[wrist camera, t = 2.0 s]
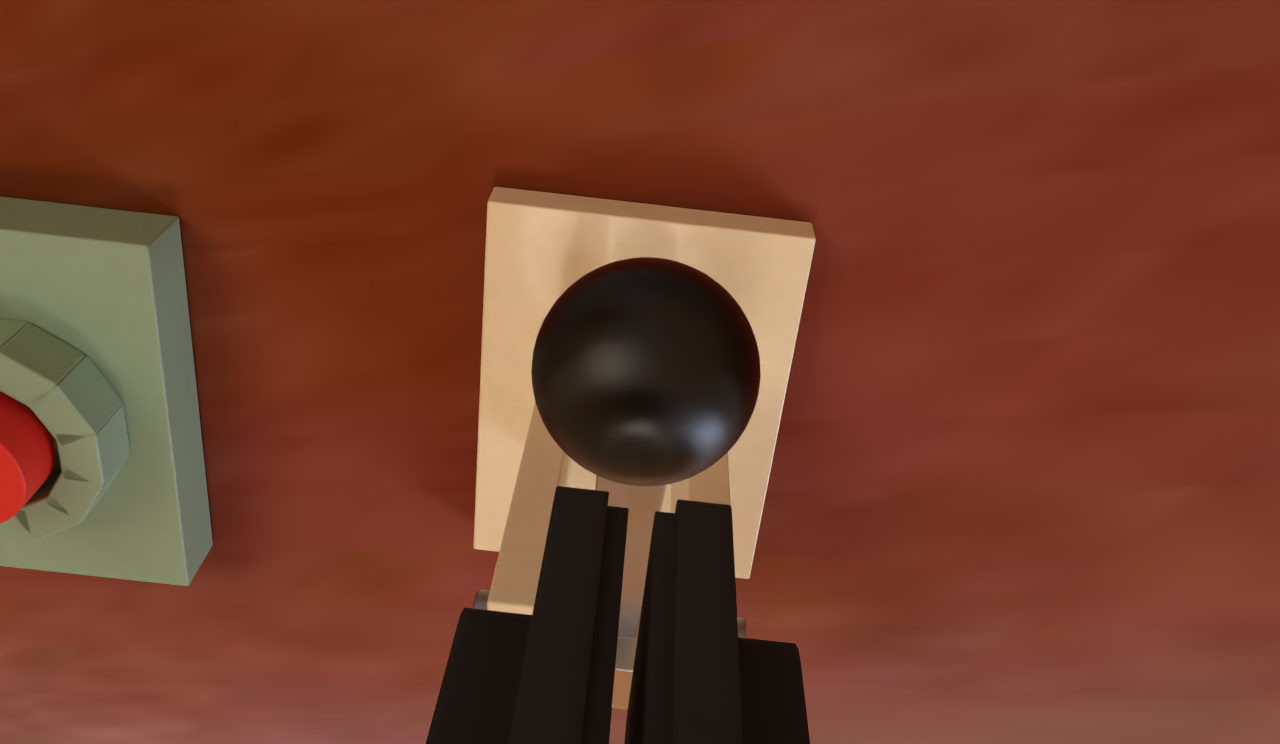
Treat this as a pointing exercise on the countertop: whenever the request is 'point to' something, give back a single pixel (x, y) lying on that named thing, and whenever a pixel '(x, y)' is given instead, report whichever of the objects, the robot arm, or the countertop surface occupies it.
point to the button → (21, 455)
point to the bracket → (513, 314)
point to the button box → (103, 392)
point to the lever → (644, 396)
